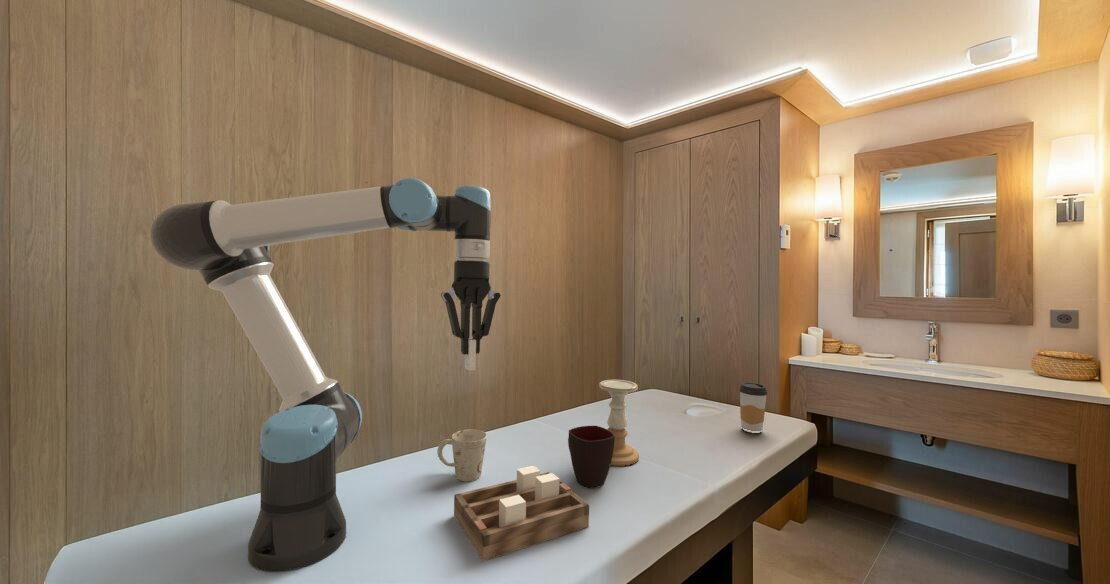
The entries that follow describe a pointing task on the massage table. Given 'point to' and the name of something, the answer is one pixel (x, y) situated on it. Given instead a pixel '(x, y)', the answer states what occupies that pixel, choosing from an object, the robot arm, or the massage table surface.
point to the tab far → (526, 478)
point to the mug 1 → (466, 453)
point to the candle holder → (619, 420)
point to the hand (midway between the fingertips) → (470, 368)
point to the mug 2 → (591, 454)
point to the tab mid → (546, 486)
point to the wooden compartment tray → (541, 523)
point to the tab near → (511, 510)
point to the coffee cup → (752, 406)
